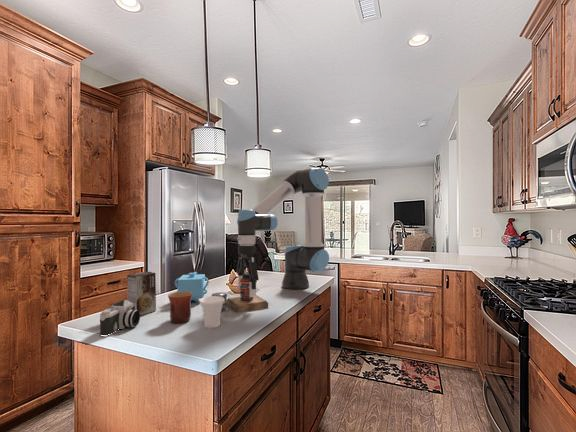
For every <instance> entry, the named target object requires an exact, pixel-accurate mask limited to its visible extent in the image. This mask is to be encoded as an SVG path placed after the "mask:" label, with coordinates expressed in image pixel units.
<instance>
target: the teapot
mask: <svg viewBox="0 0 576 432" xmlns="http://www.w3.org/2000/svg"><path fill="white" fill-rule="evenodd" d="M209 283H210V280H209V279H208V277H206V275H205V273H200V274H199V273H198V271H194V272H188V274H182V275H181V276H180V277H178V278H176V279H175V281H174V286H175V288H177V290H176V292H182V291H187V292H192V293H193V294H192V298H191V301H194V303H199V304H200V302H199V298H200V299H201V298H204V297H205V295H206V294H207V293H208V289H206V288H207V287H208V286H209Z"/></svg>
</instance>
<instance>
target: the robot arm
mask: <svg viewBox="0 0 576 432" xmlns="http://www.w3.org/2000/svg"><path fill="white" fill-rule="evenodd" d="M329 181H330V180H329V175H328V173H327V172H326V171H325V169H323V168H322V167H311V168H307V169H300V170H296V171H295V172H293V173H291V174H290V175H288V176H287V177H286V178H284V179H283V180H282V181H281V182H280V184H279V186H278V187H277V188H275V189H274V190H273V191H272V192H271V193H270V194H269V195H267V196H266V197H265V198H264V199H263V200H262V201H260V202H259V203H258V204H257V205H256V206H254V207H253V208H252V209H239V211H238V212H237V219H236V224H237V234H238V235H237V236H238V237H237V238H236V239H237V243H238V244H237V245H238V246H237V254H238V260H237V261H238V262H237V266H236V272H235V273H236V274H237V276H238V277H237V278H238V279H237V280H238V281H237V283H238V284H237V285H238V287H237V288H238V289H237V290H238V291H240V280H241V279H242V276H243V273H246V272H245V271H246V269H247V273H248V274H249V277H250V280H249V290H250V297H256V295H257V281H259V280H260V279H259V278H260V277H259V272H258V269H257V268H258V267H257V263H256V257H255V256H254V257H253V255H254V254H256V232H257V231H258V232H259V231H260V232H262V231H274V230H276V229H277V227H278V218H277V216H276V215H275V214H272V213H273V212H274V210H276V208H278V207H279V206H280V205H281V204H283V202H284V201H286V200H287V199H288V198H289V197H293V196H294V195H296V194H297V193H300V192H302V193H301V194H302V195H303V196H304V214H305V215H304V225H305V226H304V228H305V229H304V231H305V233H304V234H305V235H304V237H305V238H304V243H303V244H299V245H290V246H288V245H287V246H286V247H285V250H284V274H283V275H284V276H283V279H282V281H281V287H282V288H284V289H288V290H304V289H307V288H309V287H310V282H309V278H308V275H307V271H309V272H310V271H311V272H319V273H320V272H323V271H324V270H325V269H326V267H327V266H328V265H329V262H330V254H329V253H328V250H326V249H325V244H324V243H323V242H322V196H324V195H325V190H326V189H327V188H328V186H329V184H330V182H329Z"/></svg>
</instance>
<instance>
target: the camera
mask: <svg viewBox="0 0 576 432" xmlns="http://www.w3.org/2000/svg"><path fill="white" fill-rule="evenodd" d="M132 307H133V303H132V302H129V301H127V300H126V299H123V300H120V301H117V302H113V303H111V304H110V307H109V308H105V309H104V310H102V311H101V312H100V314H99V328H100V329H99V335H100V334H101V335H108V334H111V333H113V332H115V331H117V330H118V329H123V328H124V329H126V328H135V327H137V326H138V325H139V323H140V320H141V315H140V313H139V311H138V310H132ZM125 327H126V328H125ZM124 329H123V330H124ZM117 332H118V331H117Z"/></svg>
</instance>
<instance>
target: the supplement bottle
mask: <svg viewBox="0 0 576 432" xmlns="http://www.w3.org/2000/svg"><path fill="white" fill-rule="evenodd" d="M249 280H250V277H249V274H248V272H244V273H243V276H242V279H241V280H240V290H239V296H240V299H241V300H243V301H250V300H252V299H253V297H250V290H249Z"/></svg>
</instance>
